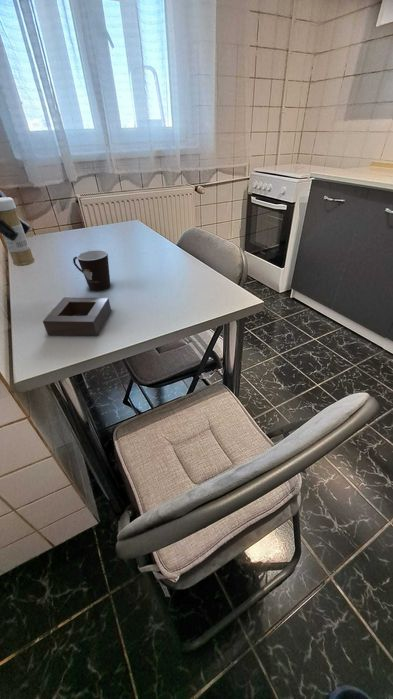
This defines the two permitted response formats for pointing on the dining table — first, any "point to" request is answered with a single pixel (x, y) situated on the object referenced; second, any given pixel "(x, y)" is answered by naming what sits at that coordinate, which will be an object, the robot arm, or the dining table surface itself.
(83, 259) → the coffee mug
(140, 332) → the dining table surface
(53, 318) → the bottle rack
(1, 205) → the sprinkles bottle
